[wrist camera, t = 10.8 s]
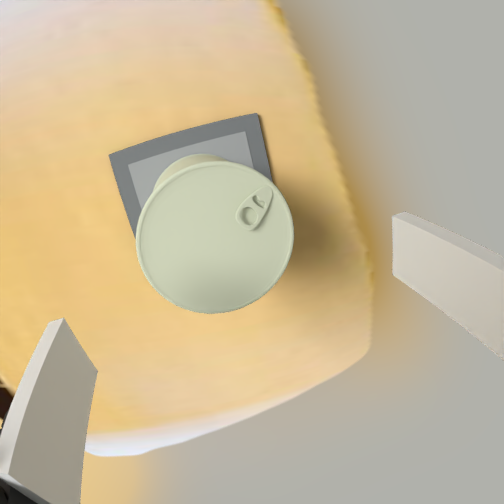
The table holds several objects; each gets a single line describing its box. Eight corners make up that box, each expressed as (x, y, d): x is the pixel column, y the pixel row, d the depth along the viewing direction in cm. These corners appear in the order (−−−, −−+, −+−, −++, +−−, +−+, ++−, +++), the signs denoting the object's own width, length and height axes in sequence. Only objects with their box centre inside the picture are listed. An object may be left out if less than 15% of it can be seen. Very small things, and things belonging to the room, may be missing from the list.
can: (269, 199, 28) (328, 237, 17) (205, 268, 29) (224, 343, 18) (198, 133, 24) (214, 123, 14) (131, 210, 25) (101, 258, 15)
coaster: (110, 154, 24) (108, 154, 23) (255, 113, 26) (257, 112, 25) (155, 287, 29) (155, 290, 29) (284, 247, 31) (286, 249, 31)
